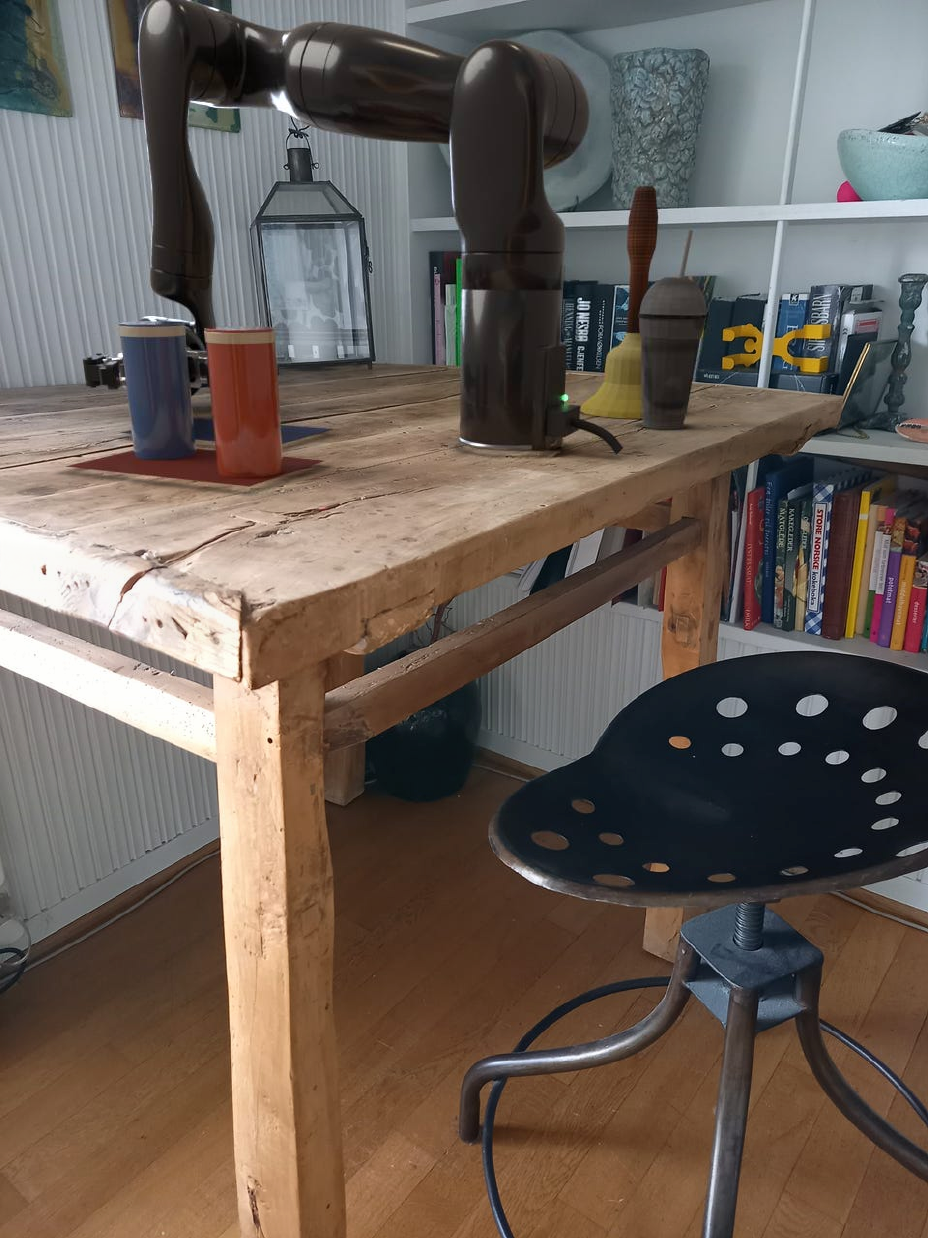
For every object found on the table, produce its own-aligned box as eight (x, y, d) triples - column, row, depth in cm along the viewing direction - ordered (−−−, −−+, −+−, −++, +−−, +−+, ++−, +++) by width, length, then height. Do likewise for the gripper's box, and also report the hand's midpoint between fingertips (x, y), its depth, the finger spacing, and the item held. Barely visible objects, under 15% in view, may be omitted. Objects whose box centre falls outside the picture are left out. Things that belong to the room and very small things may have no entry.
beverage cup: (646, 419, 105) (661, 231, 98) (706, 425, 101) (726, 230, 94) (618, 426, 99) (631, 229, 92) (680, 433, 95) (699, 227, 88)
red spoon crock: (297, 468, 74) (288, 327, 70) (259, 480, 69) (248, 330, 65) (243, 462, 76) (232, 325, 72) (203, 474, 71) (188, 328, 67)
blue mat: (333, 434, 93) (333, 428, 93) (272, 452, 84) (272, 445, 83) (191, 423, 99) (191, 417, 99) (120, 438, 90) (119, 432, 90)
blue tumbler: (209, 451, 80) (197, 322, 76) (170, 462, 76) (155, 324, 72) (162, 447, 82) (147, 320, 78) (120, 457, 78) (103, 323, 74)
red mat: (325, 467, 77) (325, 460, 77) (249, 493, 68) (249, 485, 68) (157, 451, 84) (156, 444, 83) (66, 473, 74) (65, 465, 74)
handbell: (676, 420, 104) (698, 180, 95) (570, 415, 107) (582, 182, 98) (684, 407, 115) (704, 190, 106) (588, 402, 118) (599, 192, 109)
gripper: (94, 324, 92) (70, 333, 78) (236, 323, 96) (239, 332, 81) (103, 398, 95) (82, 421, 80) (242, 395, 98) (246, 416, 84)
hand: (161, 376), depth 81 cm, fingers open, 8 cm apart
